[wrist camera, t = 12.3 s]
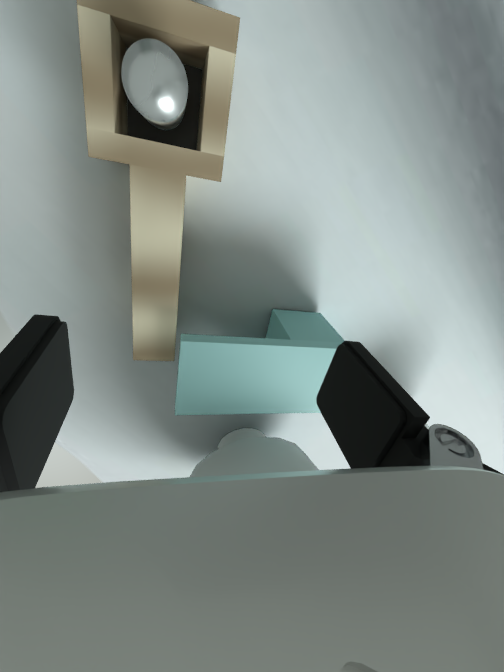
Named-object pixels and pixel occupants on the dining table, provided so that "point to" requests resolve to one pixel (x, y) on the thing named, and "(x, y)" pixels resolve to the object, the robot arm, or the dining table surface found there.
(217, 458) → the vase
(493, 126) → the dining table surface
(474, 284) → the dining table surface
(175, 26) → the link
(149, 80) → the post
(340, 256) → the dining table surface
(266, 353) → the keeper
